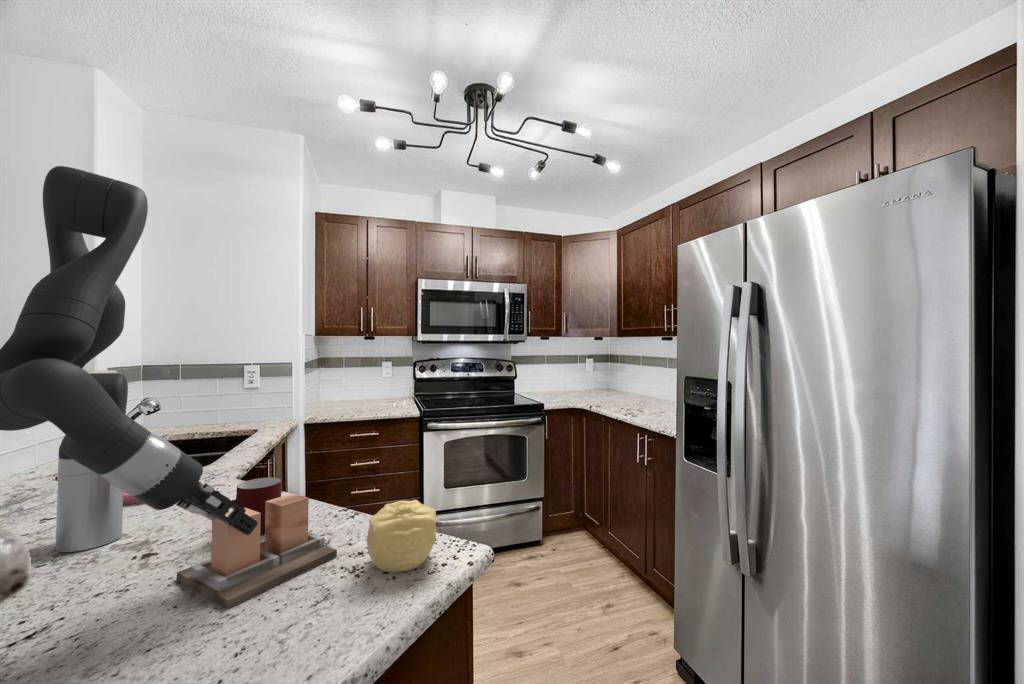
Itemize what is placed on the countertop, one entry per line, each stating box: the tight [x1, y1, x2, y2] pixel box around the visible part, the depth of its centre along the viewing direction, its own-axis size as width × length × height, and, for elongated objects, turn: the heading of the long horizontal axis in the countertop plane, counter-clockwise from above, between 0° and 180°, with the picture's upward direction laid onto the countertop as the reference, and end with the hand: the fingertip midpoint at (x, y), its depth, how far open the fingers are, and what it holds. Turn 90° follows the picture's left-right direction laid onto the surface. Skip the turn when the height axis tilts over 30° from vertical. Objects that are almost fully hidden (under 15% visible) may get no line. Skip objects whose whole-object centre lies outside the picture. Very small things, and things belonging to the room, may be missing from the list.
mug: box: [231, 477, 283, 535], centre depth 85 cm, size 11×8×10 cm
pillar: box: [210, 508, 261, 577], centre depth 68 cm, size 5×5×9 cm
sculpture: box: [366, 499, 437, 573], centre depth 73 cm, size 12×12×11 cm
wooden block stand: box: [176, 493, 338, 610], centre depth 71 cm, size 16×18×10 cm
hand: (238, 523), depth 68 cm, fingers open, 8 cm apart
